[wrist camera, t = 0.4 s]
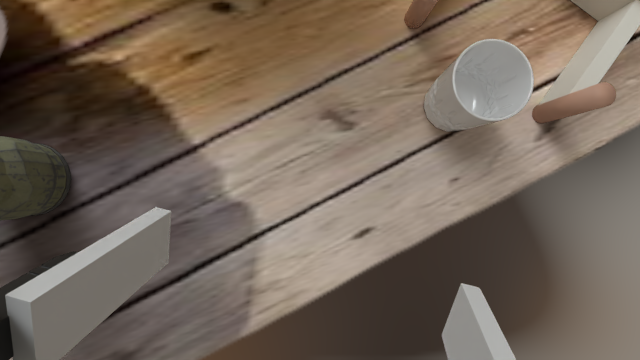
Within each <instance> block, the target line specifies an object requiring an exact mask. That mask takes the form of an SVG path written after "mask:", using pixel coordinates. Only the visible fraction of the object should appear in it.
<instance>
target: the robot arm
mask: <svg viewBox="0 0 640 360" xmlns="http://www.w3.org/2000/svg"><path fill="white" fill-rule="evenodd" d="M170 224H171V211H169V210H165V209H161V208H157V207H155V208H153V209H152V210H150V211H148V212H147V213H145V214H143V215H141V216H140V217H138V218H136V219H135V220H133V221H131V222H129V223H128V224H126V225H124V226H123V227H121V228H119V229H118V230H116V231H114V232H112V233H111V234H109V235H107V236H106V237H104V238H102V239H100V240H99V241H97V242H95V243H94V244H92V245H90V246H88V247H87V248H85V249H83V250H82V251H80V252H74V251H73V252H70V253H67V254H63V255H60V256H57V257H55V258H53V259H51V260H49V261H48V262H46V263H44V264H42V265H41V267H37V268H35V269H33V270H31V271H30V272H29V274H28V273H26V274H24V275H22V276H21V277H19V278H17V279H15V280H13V281H12V282H10V283H8V284H6V285H5V286H3V287H1V288H0V360H9V359H10V358H11V357H13V360H60V359H61V358H62V357H63V356H64V355H65V354H67V353H68V352H69V351H70V350H71V349H72V348H73V347H74V346H76V345H77V344H78V343H79V342H80V341H81V340H82V339H83V338H85V337H86V336H87V335H88V334H89V333H90V332H91V331H92V330H94V329H95V328H96V327H97V326H98V325H99V324H100V323H101V322H102V321H104V320H105V319H106V318H107V317H108V316H109V315H110V314H111V313H113V312H114V311H115V310H116V309H117V308H118V307H119V306H120V305H122V304H123V303H124V302H125V301H126V300H127V299H128V298H129V297H131V296H132V295H133V294H134V293H135V292H136V291H137V290H138V289H140V288H141V287H142V286H143V285H144V284H145V283H146V282H147V281H149V280H150V279H151V278H152V277H153V276H154V275H155V274H156V273H158V272H159V271H160V270H161V269H162V268H163V267H164V266H165V265H167V264H168V260H169V242H170ZM442 338H443V342H444V346H445V349H446V353H447V357H448V360H516V359H515V357H514V355H513V353H512V351H511V349H510V347H509V345H508V343H507V341H506V339H505V337H504V335H503V333H502V331H501V329H500V327H499V325H498V323H497V321H496V319H495V317H494V315H493V313H492V311H491V309H490V307H489V305H488V303H487V301H486V300H485V298H484V296H483V294H482V292H481V290H480V288H478V287H474V286H470V285H466V284H462V283H461V285H460V288H459V291H458V293H457V296H456V298H455V301H454V304H453V306H452V309H451V312H450V314H449V317H448V319H447V322H446V325H445V328H444V330H443V333H442Z"/></svg>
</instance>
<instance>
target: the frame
mask: <svg viewBox="0 0 640 360" xmlns="http://www.w3.org/2000/svg"><path fill="white" fill-rule="evenodd" d="M571 1H572V2H573V3H575V4H576V5H577V6H579V7H580V8H581V9H583V10H584V11H585V12H587V13H588V14H589V15H591V16H592V17H593V18H595V19H596V20H597V21H598V22H597V24H596V25H595V26H594V28H593V29H592V31H591V32H590V33H589V35H588V36H587V38H586V39H585V40H584V42H583V43H582V45H581V46H580V47H579V49H578V50H577V52H576V53H575V54H574V56H573V57H572V59H571V60H570V61H569V63H568V64H567V66H566V67H565V68H564V70H563V71H562V73H561V74H560V75H559V77H558V78H557V80H556V81H555V82H554V84H553V85H552V87H551V88H550V89H549V91H548V92H547V94H546V95H545V96H544V98H543V99H542V101H541V102H540V103H539V105H537V106H536V107H535V108H534V109H533V112H532V115H533V118H534V120H535V121H536V122H538V123H547V122H550V121H554V120H558V119H561V118H565V117H569V116H572V115H576V114H580V113H583V112H587V111H591V110H594V109H598V108H602V107H605V106H609V105H611V104H612V103H613V102H614V101H615V98H616V91H615V89H614V87H613V86H612V85H611V84H609V83H606V82H602V83H599V82H600V81H601V79H602V78H603V76H604V75H605V73H606V72H607V71H608V69H609V68H610V66H611V65H612V64H613V62H614V61H615V59H616V58H617V57H618V55H619V54H620V52H621V51H622V49H623V48H624V47H625V45H626V44H627V42H628V41H629V40H630V38H631V37H632V35H633V34H634V33H635V31H636V30H637V28H638V27H639V25H640V0H571ZM437 2H438V0H413V2H412V4H411V6H410V7H409V9H408V11H407V13H406V15H405V23H406V25H407V26H408V27H410V28H418V27H420V26H421V25H422V24H423V22H424V21H425V19H426V18H427V16H428V15H429V13H430V12H431V10H432V9H433V8H434V6H435V5H436V3H437Z"/></svg>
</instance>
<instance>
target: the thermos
mask: <svg viewBox="0 0 640 360" xmlns="http://www.w3.org/2000/svg"><path fill="white" fill-rule="evenodd" d="M70 180H71V175H70V171H69V166H68V164H67V163H66V161H65V159H64V158H63V156H62V155H61V154H60V153H58V152H57V151H56V150H55V149H53V148H51V147H49V146H46V145H44V144H37V143H31V142H29V141H26V140H22V139H16V138H10V137H3V136H0V220H9V219H18V218H22V217H26V216H33V215H39V214H44V213H48V212H49V211H51V210H53V209H54V208H56V207H58V206H59V204H60V203H61V202H62V201H63V200H64V199H65V197H66V195H67V193H68V191H69V188H70Z"/></svg>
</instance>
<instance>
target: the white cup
mask: <svg viewBox="0 0 640 360" xmlns="http://www.w3.org/2000/svg"><path fill="white" fill-rule="evenodd" d="M533 85H534V77H533V71H532V68H531V65H530V63H529V61H528V59H527V57H526V56H525V55H524V53H523V52H522V51H521V50H520V49H518V48H517V47H516V46H514V45H513V44H511V43H509V42H506V41H503V40H499V39H486V40H481V41H478V42H476V43H474V44H472V45H470V46H469V47H468V48H466V49H465V50H464V51H463V52H462V53H461V54H460V55H459V56H458V57H457V58H456V59H455V60H454V61H453V62H452V63H451V64H450V65H449V66H448V67H447V69H446V70H445V71H444V72H443V73H442V74H441V75H440V76H439V77H438V78H437V80H436V81H435V82H434V83H433V84H432V85H431V87H430V89H429V90H428V92H427V93H426V95H425V101H424V110H425V113H426V116H427V119H428V120H429V121H430V122H431V123H432V124H433V125H434V126H435V127H436V128H439V129H441V130H444V131H447V132H449V131H460V130H465V129H470V128H474V127H479V126H483V125H486V124H490V123H494V122H498V121H501V120H505V119H508V118H510V117H512V116H514V115H516V114H517V113H519V112H520V111H521V110H522V109H523V108H524V107H525V105H526V104H527V102H528V101H529V99H530V97H531V94H532V91H533Z"/></svg>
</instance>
